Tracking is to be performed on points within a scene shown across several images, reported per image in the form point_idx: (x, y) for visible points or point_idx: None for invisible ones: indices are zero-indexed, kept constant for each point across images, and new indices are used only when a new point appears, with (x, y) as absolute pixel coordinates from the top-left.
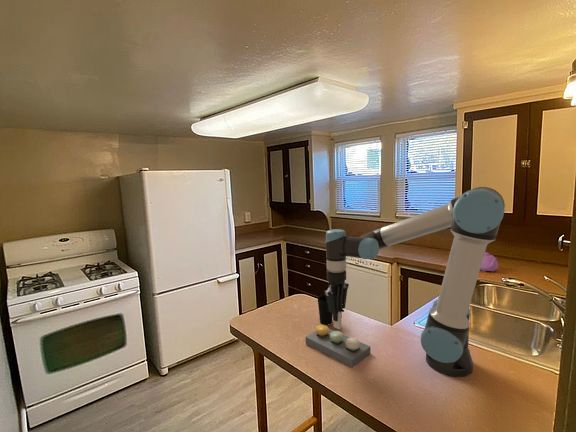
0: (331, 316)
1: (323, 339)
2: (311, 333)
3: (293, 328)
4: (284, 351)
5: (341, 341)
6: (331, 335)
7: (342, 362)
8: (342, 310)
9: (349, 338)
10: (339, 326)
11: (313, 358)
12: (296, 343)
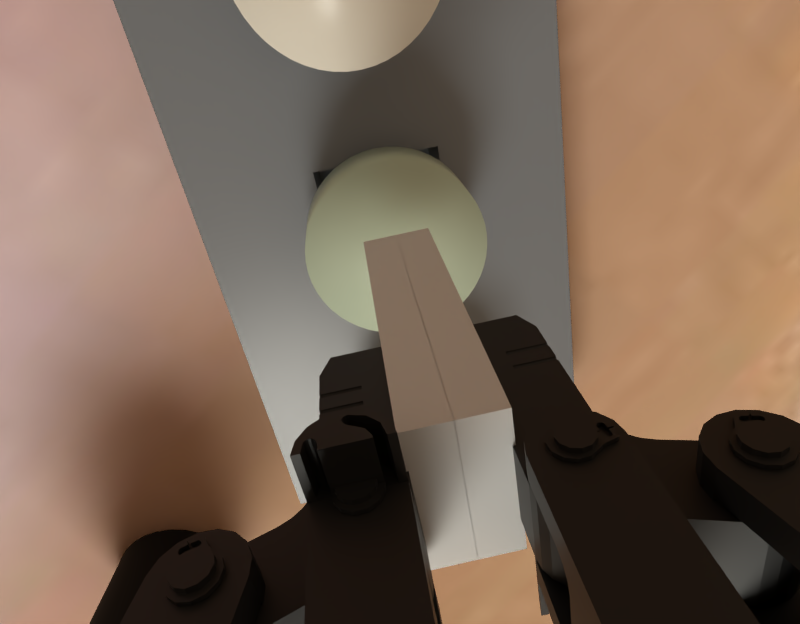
0: (126, 599)
1: None
2: None
3: (471, 593)
4: (748, 393)
5: None
6: (473, 269)
7: None
8: (362, 458)
9: (318, 58)
10: (426, 248)
11: (671, 190)
12: None
